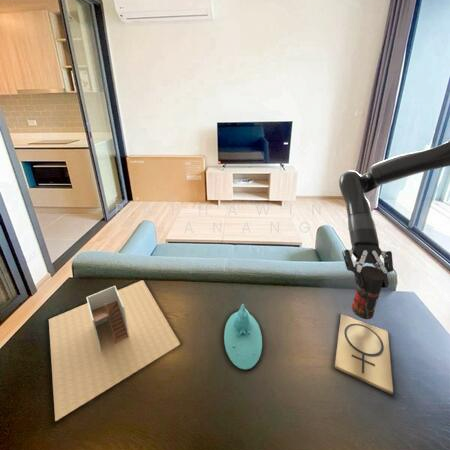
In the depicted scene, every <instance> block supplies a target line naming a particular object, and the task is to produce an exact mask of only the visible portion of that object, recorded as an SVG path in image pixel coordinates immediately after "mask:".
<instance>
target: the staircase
mask: <svg viewBox="0 0 450 450" xmlns="http://www.w3.org/2000/svg"><path fill="white" fill-rule="evenodd" d="M85 298H86V299H85V300H86V303H87V306H88V310H89V314H90V318H91V322H92V326H93V330H94V334H95V338H96V342H97V346H98V349H99V351H100V352H101V351H102V347H101V343H100V339H99V335H98V331H97V327H96V326H98V325H100V324H102V323H104V322H107V321H108V322H109V326H110V329H111V333H112V337H113V342H114V343H115V344H116V343H117V342H119V341H121V340H123V339H125V338H127V337H129V336H130V330H129V325H128V320H127V314H126V309H125V305H124V303H123V301H122V298H121V296H120V293H119V291H118V289H117V286H116V285H113V286H110V287H107V288H105V289H103V290H100V291H97V292H96V293H93V294H90V295H88V296H86V297H85Z"/></svg>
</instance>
